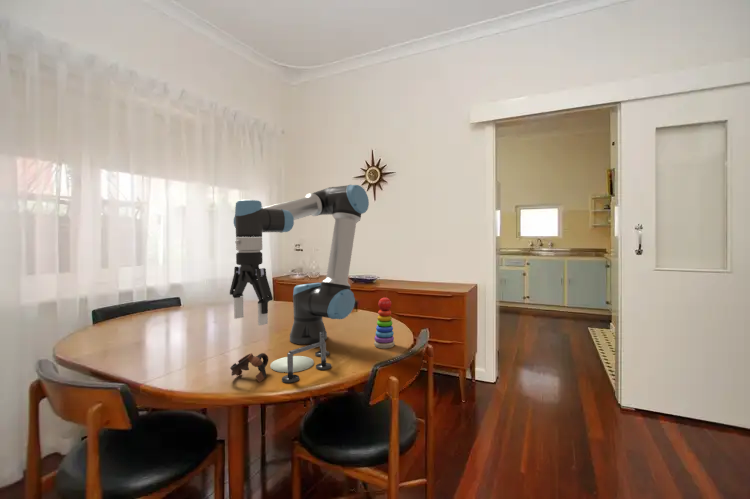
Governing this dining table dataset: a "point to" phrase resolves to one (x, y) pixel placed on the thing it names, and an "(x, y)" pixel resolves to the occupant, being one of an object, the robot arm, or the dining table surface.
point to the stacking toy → (384, 325)
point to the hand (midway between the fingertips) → (250, 321)
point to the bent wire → (322, 353)
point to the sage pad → (298, 364)
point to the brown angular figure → (254, 361)
